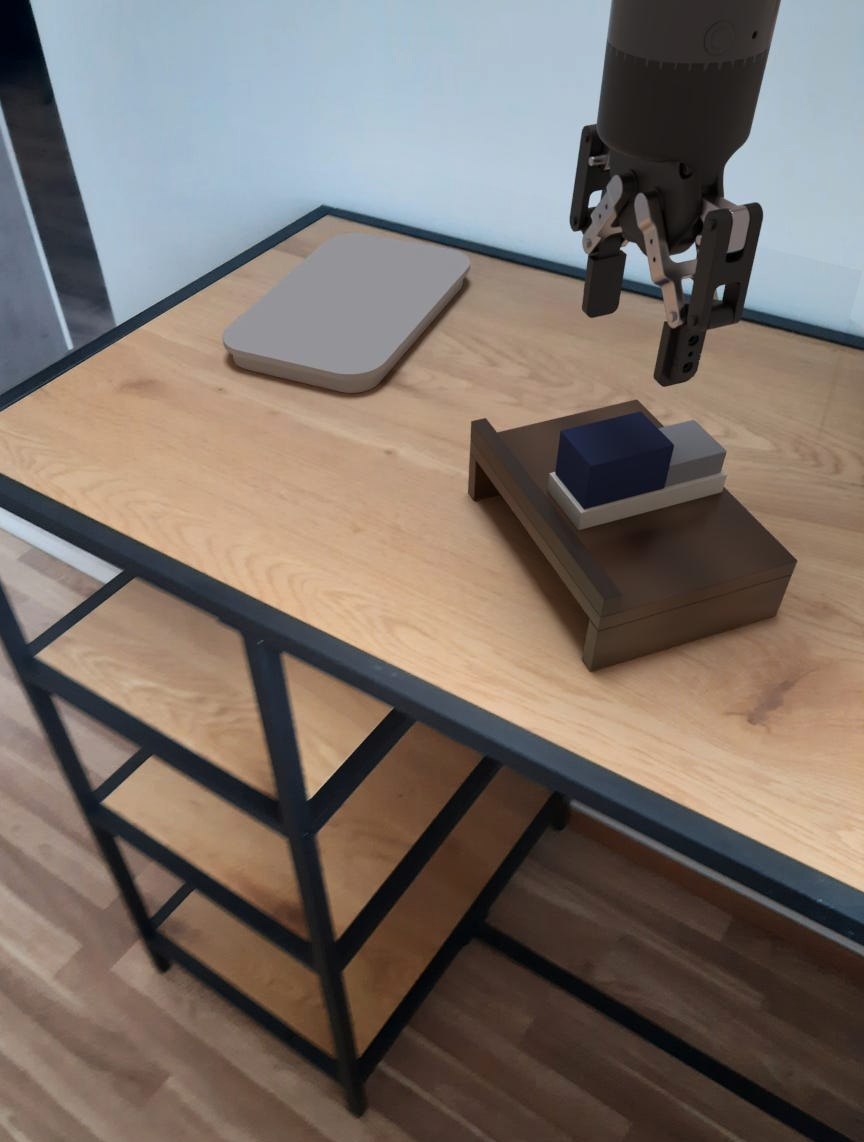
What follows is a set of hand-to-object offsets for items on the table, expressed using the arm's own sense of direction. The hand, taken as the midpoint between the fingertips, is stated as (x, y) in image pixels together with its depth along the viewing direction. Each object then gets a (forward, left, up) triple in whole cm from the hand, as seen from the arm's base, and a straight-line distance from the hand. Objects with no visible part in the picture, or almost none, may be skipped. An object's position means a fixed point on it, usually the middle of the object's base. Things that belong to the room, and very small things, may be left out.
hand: (633, 345), depth 56 cm
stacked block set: (-2, 0, -11) cm, 12 cm away
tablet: (+6, -39, -17) cm, 43 cm away
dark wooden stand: (-1, 0, -16) cm, 17 cm away
